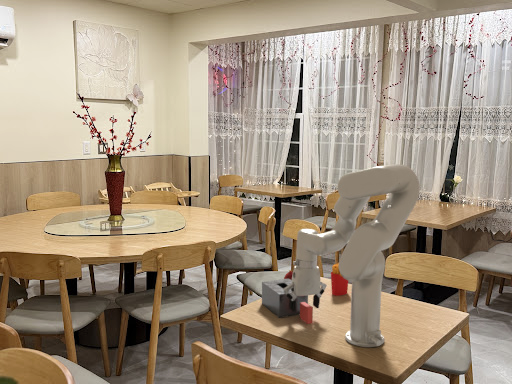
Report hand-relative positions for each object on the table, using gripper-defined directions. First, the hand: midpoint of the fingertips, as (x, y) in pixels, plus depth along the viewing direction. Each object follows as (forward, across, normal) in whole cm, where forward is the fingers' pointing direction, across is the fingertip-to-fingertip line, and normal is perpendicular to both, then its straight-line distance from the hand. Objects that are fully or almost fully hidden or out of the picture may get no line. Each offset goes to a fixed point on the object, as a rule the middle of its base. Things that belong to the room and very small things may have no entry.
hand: (304, 308), depth 181 cm
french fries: (+5, +28, +20) cm, 35 cm away
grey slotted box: (+5, -2, +13) cm, 14 cm away
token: (+4, 0, -1) cm, 5 cm away
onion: (+6, +12, +35) cm, 38 cm away
